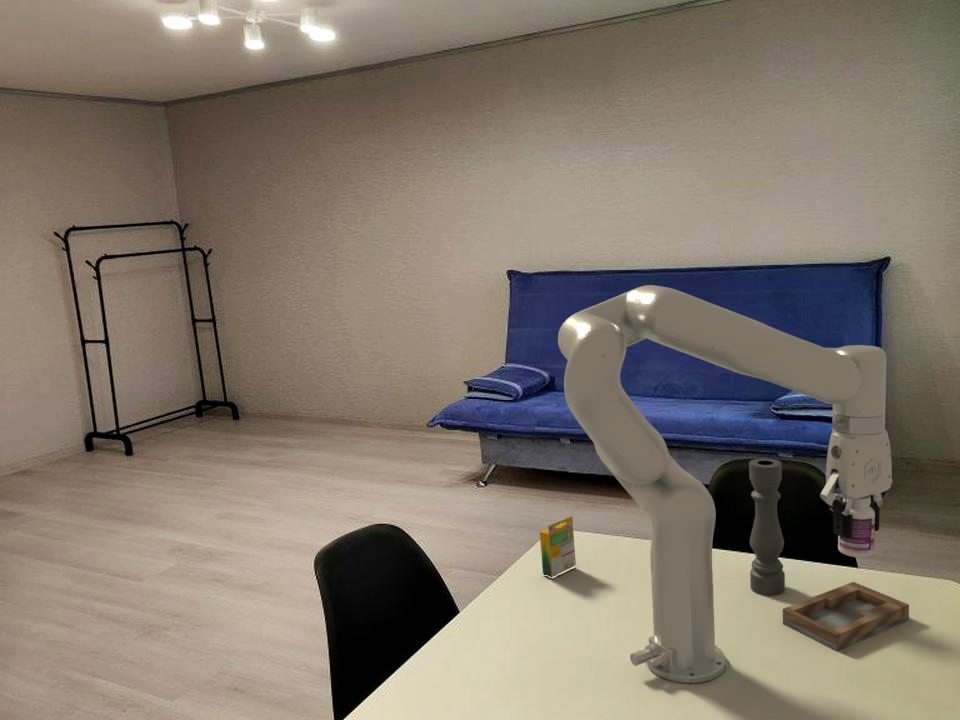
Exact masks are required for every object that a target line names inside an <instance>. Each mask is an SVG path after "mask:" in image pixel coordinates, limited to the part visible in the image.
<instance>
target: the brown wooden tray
mask: <svg viewBox="0 0 960 720" xmlns="http://www.w3.org/2000/svg"><path fill="white" fill-rule="evenodd" d="M909 620H910V604H909V603H907V602H903V601H902V600H899V599H896V598H894V597H891V596H889V595H887V594H884V593H881V592H880V591H877V590H874V589H873V588H870V587H867V586H865V585H863V584H860V583H857V582H855V581H851V582H848V583H847V584H844V585H842V586H838V587H836V588H833V589H831V590H828V591H826V592H822V593H820V594H818V595H814V596H812V597H810V598H807V599H804V600H801V601H800V602H797V603H795V604H791V605H789V606H786V607H783V608H782V625H784V626H787V627H788V628H791V629H792V630H794V631H796V632H799V634H802V635H804V636H806V637H808V638H810V639H812V640H813V641H816V642H818V643H820V644H822V645H824V646H825V647H827V648H829V649H831V650H833V651H836V652H837V651H841V650H842V649H845V648H847V647H849V646H852V645H854V644H857V643H858V642H861V641H863V640H865V639H867V638H870V637H873V636H874V635H877V634H879V633H881V632H884V631H886V630H889V629H891V628H893V627H896V626H897V625H899V624H902V623H905V622H907V621H909Z"/></svg>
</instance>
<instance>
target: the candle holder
mask: <svg viewBox="0 0 960 720" xmlns="http://www.w3.org/2000/svg"><path fill="white" fill-rule="evenodd" d="M748 465H749V467H748V469H749V471H748V472H749V473H748V474H749V475H748V477H749V480H750V481H751V482H750V484H752V486H753V488H754V490H752V492H751V494H750V495H751V498H752V499H753V501H754V504H755V505H754V510H755V513H754V514H755V517H754V521H753V526H752V529H751V533H750V537H749V545H750V547H751V549H752V551H753V552H754V556H755V558H754V559H753V560H752V563H751V569H750V572H749V573H750V574H749V575H750V576H749V577H750V579H749V580H750V581H749V582H750V589H751V591H752V592H753V593H754V594H755V593H756V594H757V595H761V596H767V597H775V596H781V595H782V594H784V593H785V592H786V591H785V590H786V575H785V572H784V570H783V569H784V564H783V563H782V561H780V559H779V558H780V556H781V555H780V554H781V553H782V552H783V550H784V546H785V539H784V536H783V533H782V529H781V526H780V522H779V517H778V502H779V501H778V500H780V499H781V496H782V495H781V493H780V492H779V491H778V490H779V489H778V488H779V486H780V485H781V482H782V478H783V477H782V475H783V474H782V473H783V472H782V467H783V466H782V462H781V461H780V460H778V459H774V458H765V457H764V458H762V457H761V458H755V459H751V460H750V461H749V462H748Z"/></svg>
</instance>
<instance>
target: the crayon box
mask: <svg viewBox="0 0 960 720" xmlns="http://www.w3.org/2000/svg"><path fill="white" fill-rule="evenodd" d="M573 519H574V517H573V515H571V516H570V517H567V518H564V519H562V520H559V521H557V522H554V523H552V524H550V525H548V527H547V528H545V529H543V530H541V531H539V541H540V553H541V566H542V575H543V574H544V575H548V576H550V577H553V576H556V575H557V574H559V573H561V572H563V571H565V570H567V569H569V568H571V567H573V566H575V565H576V566H577V563H576V562H577V561H576V551H575V549H576V547H575V537H574V523H573V521H574V520H573Z"/></svg>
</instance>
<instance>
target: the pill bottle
mask: <svg viewBox="0 0 960 720" xmlns="http://www.w3.org/2000/svg"><path fill="white" fill-rule="evenodd" d="M844 500H845V498H842V502H843V503H844ZM870 503H871V497H870V496H866V497H863V498H858V499H853V501H852V505H851V509H850V513H849V514H850V515H852V538H851V539H846V538H843V537H841V536H838V535H837V543H838V544H837V549H838V551H839V552H840V553H841V554H843V555H845V556H848V557H853V558H868V557H871V556H872V555H874V551H875V532H876V531H875V512H874V510H873V509H872V508H871V507H870V506H869V505H870Z"/></svg>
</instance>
